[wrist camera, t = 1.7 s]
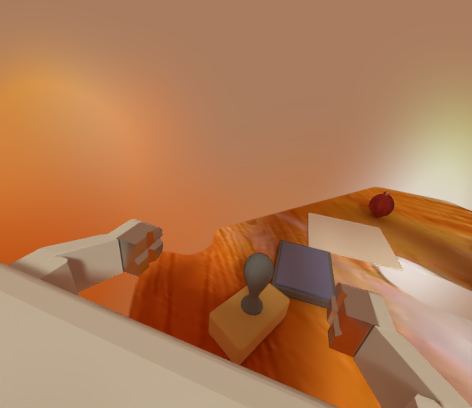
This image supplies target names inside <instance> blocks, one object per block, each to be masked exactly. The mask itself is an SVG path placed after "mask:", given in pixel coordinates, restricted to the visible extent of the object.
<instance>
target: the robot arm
mask: <svg viewBox="0 0 472 408" xmlns="http://www.w3.org/2000/svg"><path fill="white" fill-rule="evenodd" d="M161 236H162V229H161V228H159V227H157V226H154V225H151V224H148V223H145V222H141V221H138V220H135V219H132V220H130V221H128V222H126V223H125V224H123V225H122V226H120V227H119V228H117V229H115V230H113V231H112V232H110V233H109V234H107V235H104V234H103V235H98V236H93V237H89V238H84V239H80V240H75V241H71V242H66V243H62V244H57V245H52V246H48V247H44V248H40V249H38V250H37V251H35V252H33V253H31V254H29V255H27V256H25V257H23V258H21V259H19V260H17V261H15V262H14V263H12V264H10V265H5V264H3V263H1V262H0V408H339V407H336V406H334V405H332V404H330V403H327V402H325V401H323V400H320V399H318V398H316V397H313V396H311V395H309V394H306V393H304V392H302V391H299V390H297V389H295V388H292V387H290V386H288V385H285V384H283V383H280V382H278V381H276V380H273V379H271V378H269V377H266V376H264V375H262V374H259V373H257V372H255V371H252V370H250V369H248V368H245V367H243V366H241V365H238V364H236V363H234V362H231V361H229V360H227V359H224V358H222V357H220V356H217V355H215V354H213V353H210V352H208V351H206V350H203V349H201V348H199V347H196V346H194V345H192V344H189V343H187V342H185V341H182V340H180V339H178V338H175V337H173V336H171V335H168V334H166V333H164V332H161V331H159V330H157V329H154V328H152V327H150V326H147V325H145V324H143V323H141V322H138V321H136V320H134V319H131V318H129V317H127V316H124V315H122V314H119V313H117V312H115V311H112V310H110V309H108V308H105V307H103V306H101V305H98V304H96V303H94V302H92V301H89V300H87V299H85V298H82V297H80V296H79V295H78V292H80V291H82V290H85V289H87V288H89V287H91V286H94V285H96V284H98V283H100V282H103V281H105V280H107V279H109V278H111V277H114V276H116V275H118V274H120V273H122V272H123V271H124V272H127V273H130V274H133V275H136V276H140V275H141V274H142V273H143V272H144V271H145V270H146V269H147V268H149V263H151V262H153V261H156V259H157V258H158V257H159V256H160V254H161V252H162V249H163V242H162V241H161V239H160V237H161ZM327 321H328V323H329V324H330V328H329V330H328V338H329V348H331V349H334V350H336V351H339V352H341V353H344V354H346V355H349V356H351V357H354V358H353V359H354V361H355V362H356V364H357V366H358V367H359V369H360V371H361V373H362V374H363V376H364V378H365V379H366V381H367V383H368V385H369V386H370V388H371V390H372V391H373V393H374V395H375V397H376V398H377V400H378V402H379V403H380V405H381V407H382V408H472V407H471V406H470V405H469V404H468V403H467V402H466V401H465V400H464V399H463V398H462V396H461V395H460V394H459V393H458V392H457V391H456V390H455V389H454V388H453V387H452V386H451V385H450V384H449V383H448V382H447V381H446V380H445V379H444V378H443V377H442V376H441V375H440V374H439V373H438V372H437V371H436V370H435V369H434V368H433V366H432V365H431V364H430V363H429V362H428V361H427V360H426V359H425V358H424V357H423V356H422V355H421V354H420V353H419V352H418V351H417V350H416V349H415V348H414V347H413V346H412V345H411V344H410V343H409V342H408V341H407V340H406V339H405V338H404V336H403V335H401V334H398V333H397V332H396V329H395V327H394V324H393V321H392V319H391V316H390V314H389V311H388V309H387V306H386V303H385V301H384V298H383V296H382V295H381V294H378V293H374V292H371V291H367V290H363V289H359V288H356V287H353V286H349V285H346V284H343V283H338V284H337V285H336V287H335V295H334V296H332V297H331V298H330V301H329V303H328V308H327Z"/></svg>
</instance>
